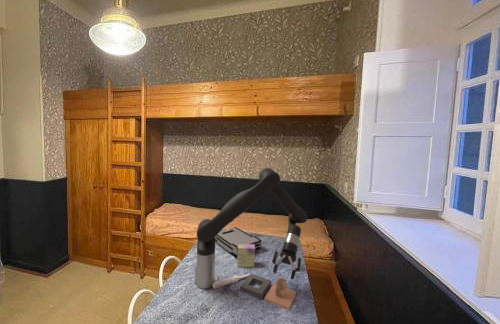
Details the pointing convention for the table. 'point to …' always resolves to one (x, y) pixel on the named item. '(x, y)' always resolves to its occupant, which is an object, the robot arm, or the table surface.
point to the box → (246, 255)
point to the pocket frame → (255, 291)
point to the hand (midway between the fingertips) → (283, 276)
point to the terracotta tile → (279, 301)
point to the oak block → (281, 287)
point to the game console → (236, 240)
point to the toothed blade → (228, 281)
